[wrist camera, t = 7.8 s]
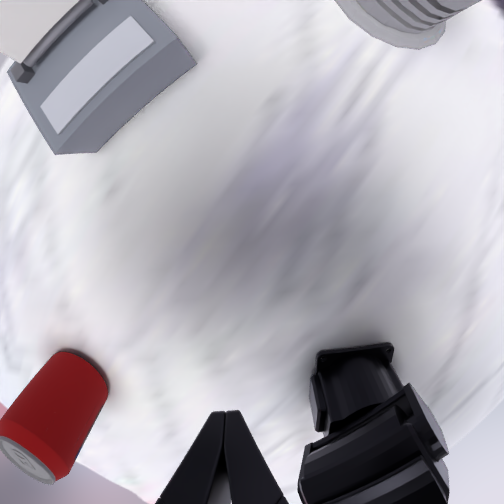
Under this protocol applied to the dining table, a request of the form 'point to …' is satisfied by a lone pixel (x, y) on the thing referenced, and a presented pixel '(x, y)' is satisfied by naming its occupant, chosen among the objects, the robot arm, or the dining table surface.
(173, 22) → the dining table surface
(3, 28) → the lever
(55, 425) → the beverage can
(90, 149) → the switch box
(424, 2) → the french press
